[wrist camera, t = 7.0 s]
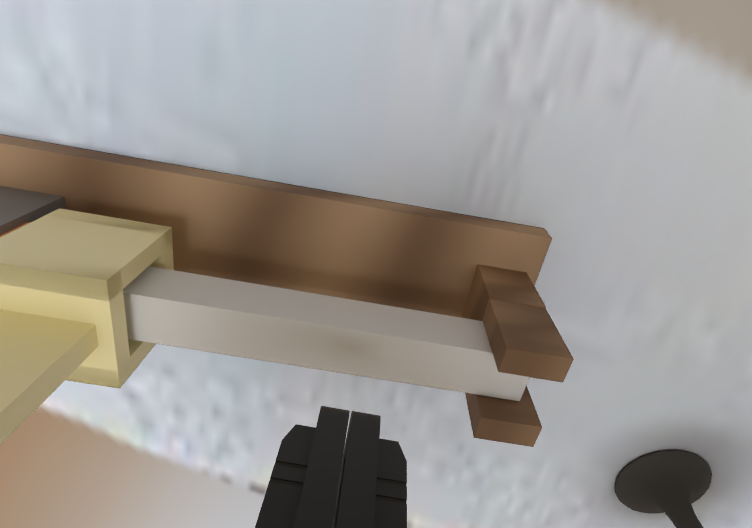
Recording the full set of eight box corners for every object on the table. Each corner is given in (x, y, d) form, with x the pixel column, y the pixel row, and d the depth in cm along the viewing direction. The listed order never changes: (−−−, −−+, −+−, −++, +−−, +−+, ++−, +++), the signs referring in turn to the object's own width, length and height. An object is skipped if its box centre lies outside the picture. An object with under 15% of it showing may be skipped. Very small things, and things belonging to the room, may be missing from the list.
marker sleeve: (171, 227, 16) (-34, 394, 8) (176, 318, 18) (9, 525, 10) (59, 208, 16) (-254, 361, 8) (75, 302, 18) (-170, 499, 10)
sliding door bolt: (513, 272, 18) (552, 349, 13) (488, 343, 19) (515, 434, 15) (-10, 183, 17) (-153, 233, 13) (9, 266, 19) (-112, 335, 14)
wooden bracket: (544, 228, 18) (612, 315, 12) (495, 363, 21) (531, 482, 15) (-6, 133, 17) (-206, 178, 12) (28, 287, 20) (-117, 383, 15)
